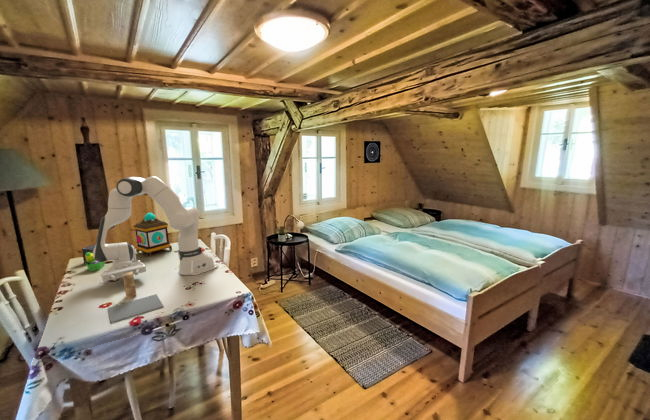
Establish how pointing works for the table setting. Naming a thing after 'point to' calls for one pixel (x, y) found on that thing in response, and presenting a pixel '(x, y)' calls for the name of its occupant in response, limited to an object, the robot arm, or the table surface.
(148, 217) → the decorative lantern
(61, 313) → the table surface
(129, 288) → the oak post
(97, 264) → the fruit basket
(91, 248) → the small box
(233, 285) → the table surface
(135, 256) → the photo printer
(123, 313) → the slate mat
